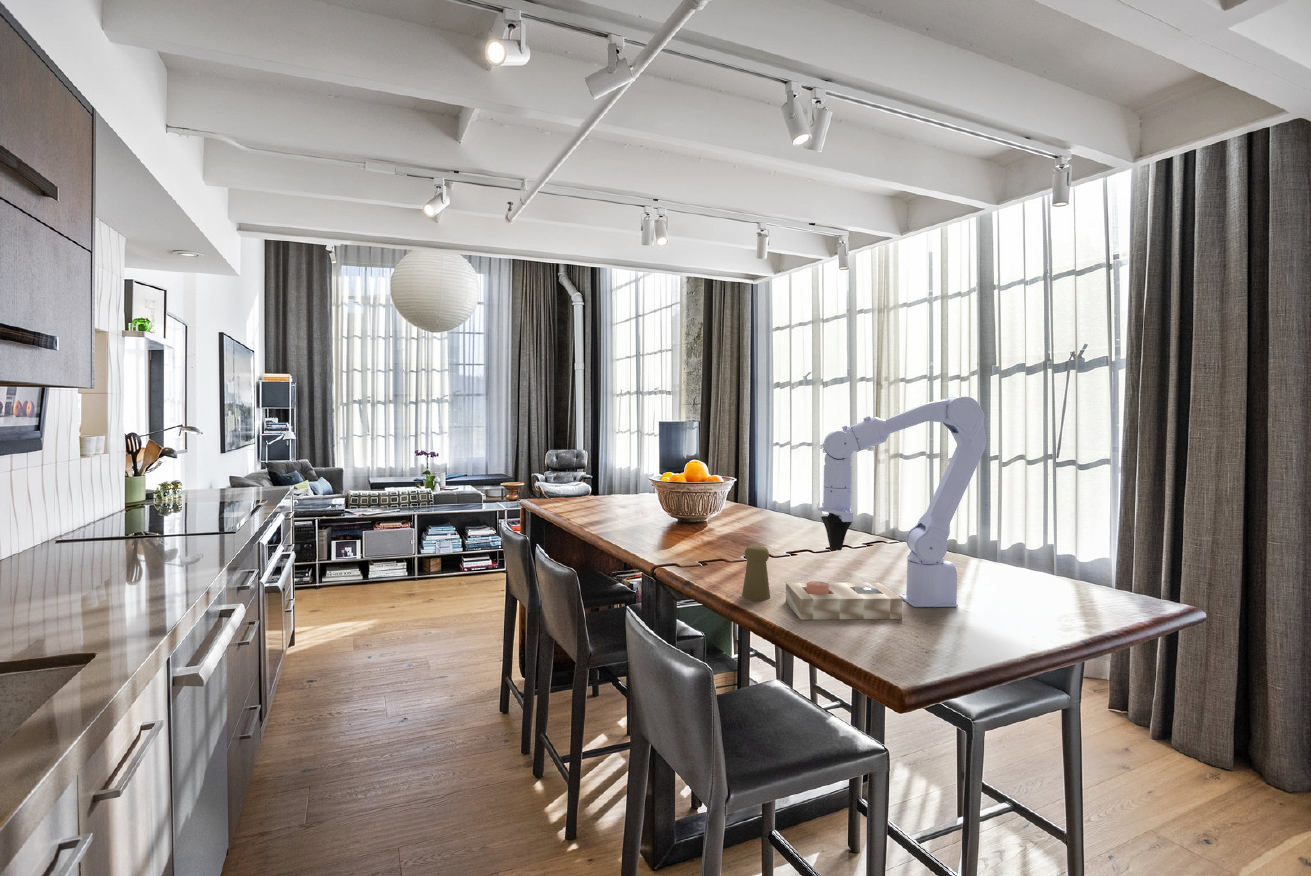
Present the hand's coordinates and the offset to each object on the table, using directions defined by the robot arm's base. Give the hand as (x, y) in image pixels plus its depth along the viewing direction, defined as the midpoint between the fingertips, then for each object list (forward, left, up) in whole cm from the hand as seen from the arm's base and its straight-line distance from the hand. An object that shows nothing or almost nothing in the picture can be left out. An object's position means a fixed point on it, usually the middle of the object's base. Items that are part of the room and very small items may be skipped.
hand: (835, 549), depth 145 cm
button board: (+2, +9, -10) cm, 14 cm away
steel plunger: (-4, +9, -10) cm, 14 cm away
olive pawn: (+17, -1, -11) cm, 20 cm away
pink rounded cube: (+7, +9, -9) cm, 14 cm away
